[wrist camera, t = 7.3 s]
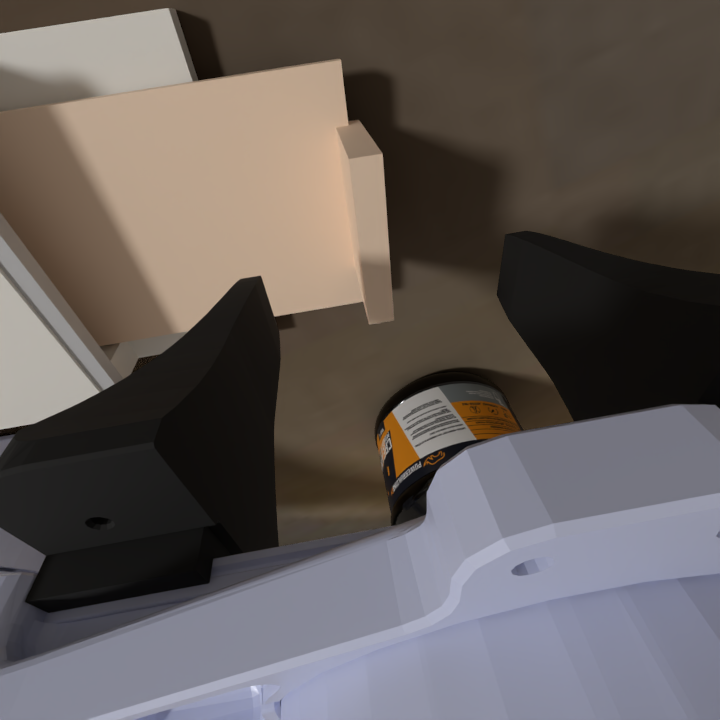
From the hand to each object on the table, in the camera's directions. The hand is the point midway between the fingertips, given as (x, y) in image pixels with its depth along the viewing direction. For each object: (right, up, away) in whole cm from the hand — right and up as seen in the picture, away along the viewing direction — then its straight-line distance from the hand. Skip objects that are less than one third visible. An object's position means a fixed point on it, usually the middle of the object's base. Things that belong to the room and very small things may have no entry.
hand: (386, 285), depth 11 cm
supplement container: (+5, -6, +19) cm, 21 cm away
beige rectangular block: (-9, +4, +6) cm, 11 cm away
